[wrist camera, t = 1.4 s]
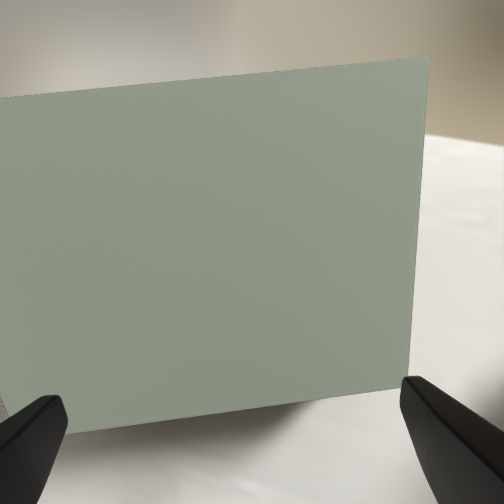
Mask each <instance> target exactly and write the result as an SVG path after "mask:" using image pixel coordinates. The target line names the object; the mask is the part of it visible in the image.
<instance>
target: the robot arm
mask: <svg viewBox="0 0 504 504" xmlns="http://www.w3.org/2000/svg"><path fill="white" fill-rule="evenodd" d="M400 409H401V412H402V415H403V418H404V420H405V423H406V426H407V429H408V431H409V434H410V437H411V440H412V443H413V445H414V448H415V451H416V454H417V456H418V459H419V462H420V464H421V467H422V470H423V472H424V474H425V477H426V479H427V481H428V483H429V485H430V488H431V490H432V492H433V494H434V496H435V498H436V500H437V502H438V504H504V432H503V431H502V430H500V429H499V428H497V427H496V426H494V425H493V424H491V423H490V422H488V421H487V420H485V419H484V418H482V417H481V416H479V415H478V414H476V413H475V412H473V411H472V410H470V409H469V408H467V407H466V406H464V405H463V404H461V403H460V402H458V401H457V400H455V399H454V398H452V397H451V396H449V395H448V394H447V393H445V392H444V391H442V390H441V389H439V388H438V387H436V386H435V385H433V384H432V383H430V382H429V381H427V380H426V379H424V378H422V377H421V376H405V377H404V378H403V379H402V384H401V393H400ZM67 426H68V416H67V413H66V410H65V407H64V404H63V401H62V398H61V397H60V396H59V395H44V396H41V397H39V398H38V399H36V400H35V401H33V402H32V403H30V404H29V405H27V406H26V407H24V408H23V409H21V410H20V411H18V412H17V413H15V414H14V415H12V416H11V417H9V418H8V419H6V420H5V421H3V422H2V423H0V504H37V502H38V500H39V498H40V496H41V494H42V491H43V489H44V487H45V484H46V482H47V480H48V477H49V474H50V472H51V469H52V466H53V464H54V461H55V458H56V456H57V453H58V451H59V448H60V445H61V443H62V440H63V437H64V435H65V432H66V429H67Z"/></svg>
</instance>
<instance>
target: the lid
mask: <svg viewBox="0 0 504 504" xmlns="http://www.w3.org/2000/svg"><path fill="white" fill-rule="evenodd" d="M429 63H430V57H420V58H409V59H399V60H389V61H378V62H367V63H357V64H347V65H336V66H326V67H315V68H305V69H295V70H284V71H274V72H263V73H254V74H243V75H233V76H222V77H212V78H201V79H192V80H180V81H170V82H160V83H149V84H140V85H128V86H118V87H108V88H97V89H87V90H76V91H66V92H56V93H46V94H35V95H24V96H14V97H4V98H0V397H1V399H2V402H3V404H4V406H5V408H6V411H7V413H8V415H9V417H11V416H12V415H14V414H15V413H17V412H18V411H20V410H21V409H23V408H24V407H26V406H27V405H29V404H30V403H32V402H33V401H35V400H36V399H38V398H39V397H41V396H44V395H59V396H60V397H61V398H62V401H63V404H64V407H65V410H66V413H67V416H68V426H67V429H66V432H65V435H66V434H73V433H80V432H87V431H94V430H102V429H109V428H116V427H123V426H130V425H138V424H145V423H152V422H159V421H166V420H173V419H181V418H188V417H195V416H202V415H209V414H217V413H224V412H231V411H238V410H245V409H252V408H260V407H267V406H274V405H281V404H288V403H296V402H303V401H310V400H317V399H324V398H331V397H339V396H346V395H353V394H360V393H367V392H375V391H382V390H389V389H396V388H401V384H402V379H403V378H404V377H405V376H408V367H409V352H410V338H411V323H412V309H413V294H414V280H415V266H416V251H417V237H418V222H419V208H420V193H421V179H422V164H423V150H424V135H425V121H426V106H427V91H428V77H429Z"/></svg>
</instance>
